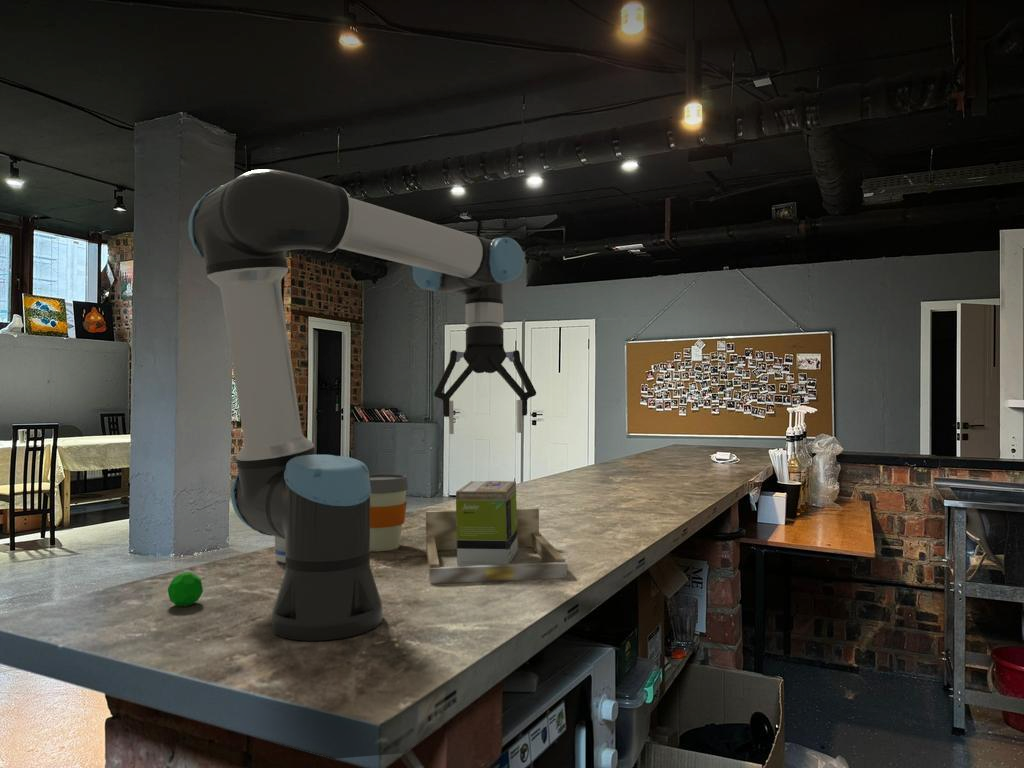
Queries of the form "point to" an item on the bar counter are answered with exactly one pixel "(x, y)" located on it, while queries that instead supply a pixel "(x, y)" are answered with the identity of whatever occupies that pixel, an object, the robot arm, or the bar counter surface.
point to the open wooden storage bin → (445, 538)
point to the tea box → (486, 523)
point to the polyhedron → (185, 589)
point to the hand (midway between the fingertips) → (485, 433)
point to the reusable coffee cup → (387, 510)
